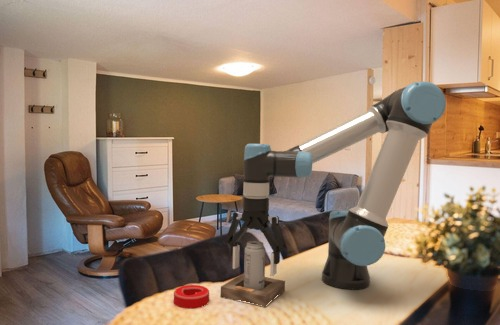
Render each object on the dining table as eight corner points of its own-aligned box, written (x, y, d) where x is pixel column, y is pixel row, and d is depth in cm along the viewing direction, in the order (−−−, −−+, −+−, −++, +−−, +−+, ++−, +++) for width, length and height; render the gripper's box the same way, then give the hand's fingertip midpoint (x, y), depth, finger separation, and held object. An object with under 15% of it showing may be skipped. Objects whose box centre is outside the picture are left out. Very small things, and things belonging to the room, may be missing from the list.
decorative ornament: (180, 294, 110) (181, 283, 110) (213, 297, 109) (213, 286, 109) (168, 307, 101) (168, 295, 101) (203, 310, 99) (203, 299, 99)
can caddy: (284, 290, 114) (285, 279, 114) (265, 307, 102) (265, 295, 102) (243, 282, 121) (243, 271, 120) (220, 297, 108) (220, 285, 108)
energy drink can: (264, 298, 108) (265, 245, 108) (243, 297, 108) (244, 245, 108) (263, 290, 114) (265, 240, 114) (243, 289, 114) (245, 240, 114)
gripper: (299, 198, 108) (297, 274, 109) (227, 192, 119) (225, 261, 120) (290, 201, 101) (287, 282, 102) (214, 194, 112) (212, 267, 113)
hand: (254, 271), depth 111 cm, fingers open, 11 cm apart
